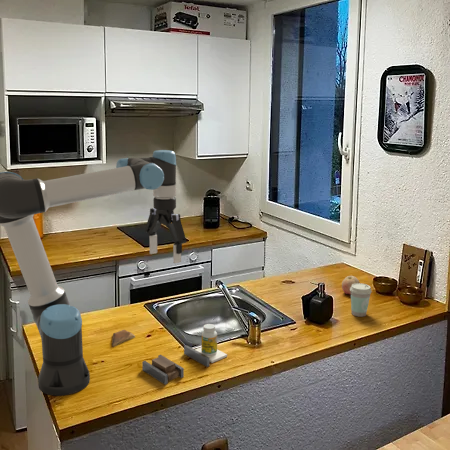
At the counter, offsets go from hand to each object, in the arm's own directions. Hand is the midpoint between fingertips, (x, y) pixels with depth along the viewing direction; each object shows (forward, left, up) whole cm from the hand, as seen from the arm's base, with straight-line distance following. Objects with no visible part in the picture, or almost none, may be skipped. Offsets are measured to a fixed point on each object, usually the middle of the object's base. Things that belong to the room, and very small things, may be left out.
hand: (165, 257), depth 188 cm
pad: (+6, -17, -32) cm, 36 cm away
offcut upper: (-14, -17, -30) cm, 37 cm away
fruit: (+93, -14, -32) cm, 99 cm away
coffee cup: (+76, -30, -32) cm, 88 cm away
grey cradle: (-8, -17, -32) cm, 37 cm away
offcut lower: (-13, -17, -32) cm, 39 cm away
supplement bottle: (+6, -17, -31) cm, 36 cm away
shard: (-10, +12, -32) cm, 36 cm away
